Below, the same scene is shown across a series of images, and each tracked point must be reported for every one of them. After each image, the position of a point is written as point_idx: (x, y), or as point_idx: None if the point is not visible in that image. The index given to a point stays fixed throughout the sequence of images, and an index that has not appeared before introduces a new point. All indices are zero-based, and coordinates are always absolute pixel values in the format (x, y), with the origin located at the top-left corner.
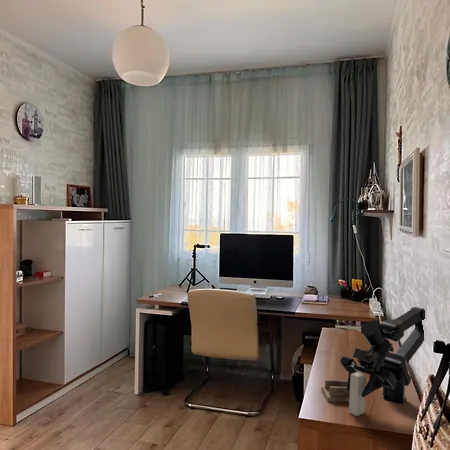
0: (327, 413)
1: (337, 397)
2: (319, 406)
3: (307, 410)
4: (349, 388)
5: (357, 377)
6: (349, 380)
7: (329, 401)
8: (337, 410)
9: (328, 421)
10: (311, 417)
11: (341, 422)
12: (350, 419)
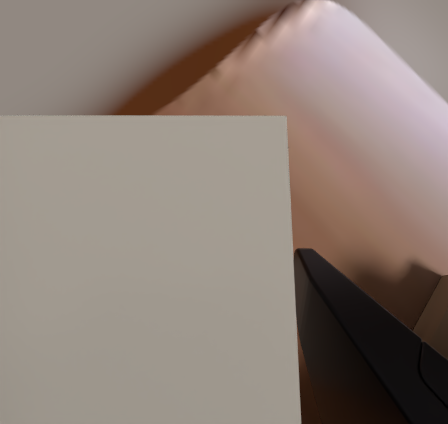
0: (299, 133)
1: (429, 343)
2: (400, 165)
3: (386, 66)
4: (297, 288)
5: (7, 130)
6: (366, 321)
7: (436, 287)
8: (299, 221)
9: (224, 66)
10: (307, 27)
11: (175, 115)
12: None
